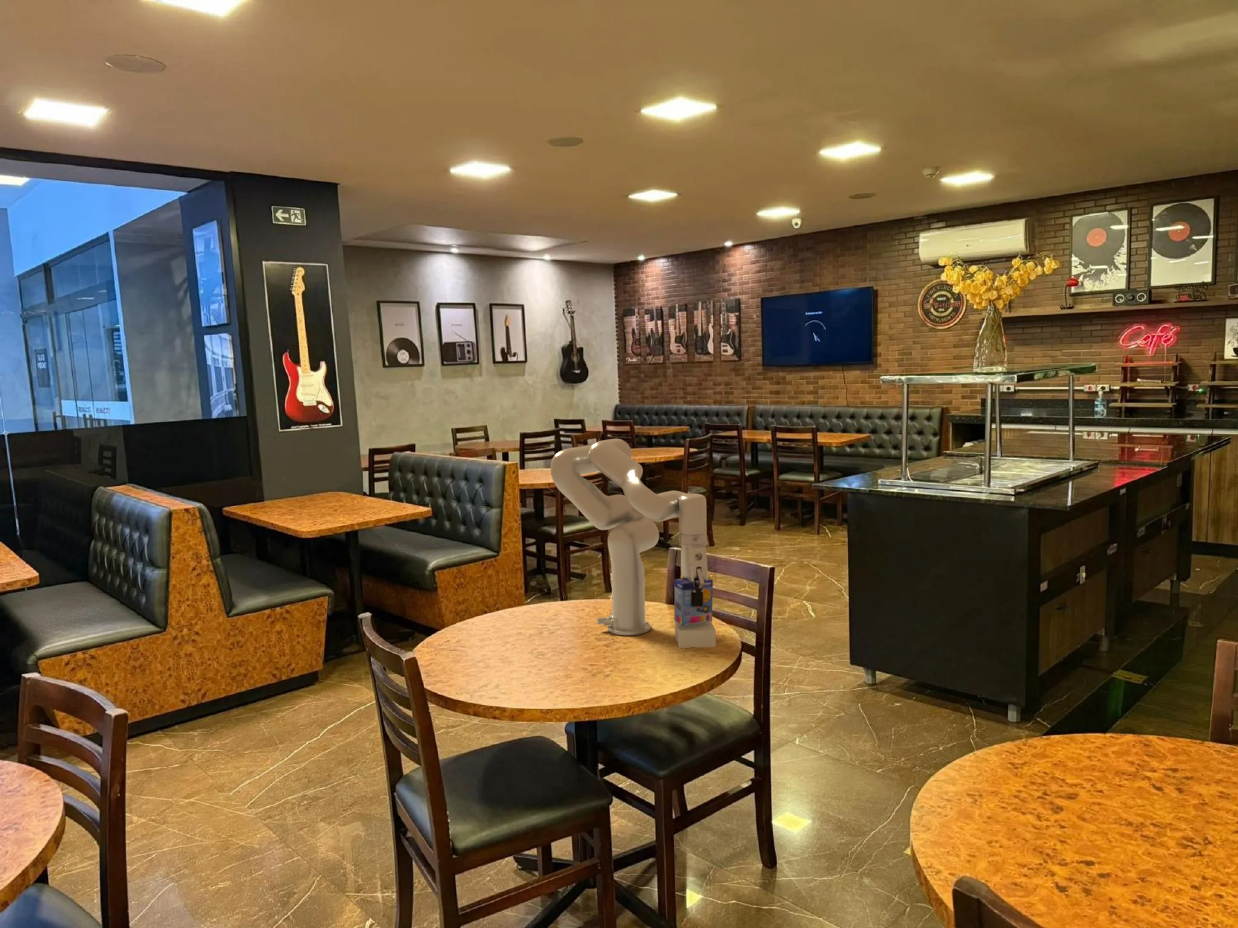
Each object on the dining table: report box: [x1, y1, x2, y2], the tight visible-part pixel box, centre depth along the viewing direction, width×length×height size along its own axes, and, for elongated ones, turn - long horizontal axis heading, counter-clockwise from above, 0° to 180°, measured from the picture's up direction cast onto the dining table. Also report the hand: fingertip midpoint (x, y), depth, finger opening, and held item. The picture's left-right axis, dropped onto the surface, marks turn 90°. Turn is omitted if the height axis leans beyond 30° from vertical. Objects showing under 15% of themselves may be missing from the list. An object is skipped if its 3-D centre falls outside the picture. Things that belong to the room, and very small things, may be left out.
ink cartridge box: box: [673, 577, 714, 626], centre depth 235 cm, size 10×6×14 cm, turn 115°
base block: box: [674, 620, 717, 649], centre depth 236 cm, size 10×10×5 cm
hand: (693, 602), depth 235 cm, fingers closed on ink cartridge box, 5 cm apart
